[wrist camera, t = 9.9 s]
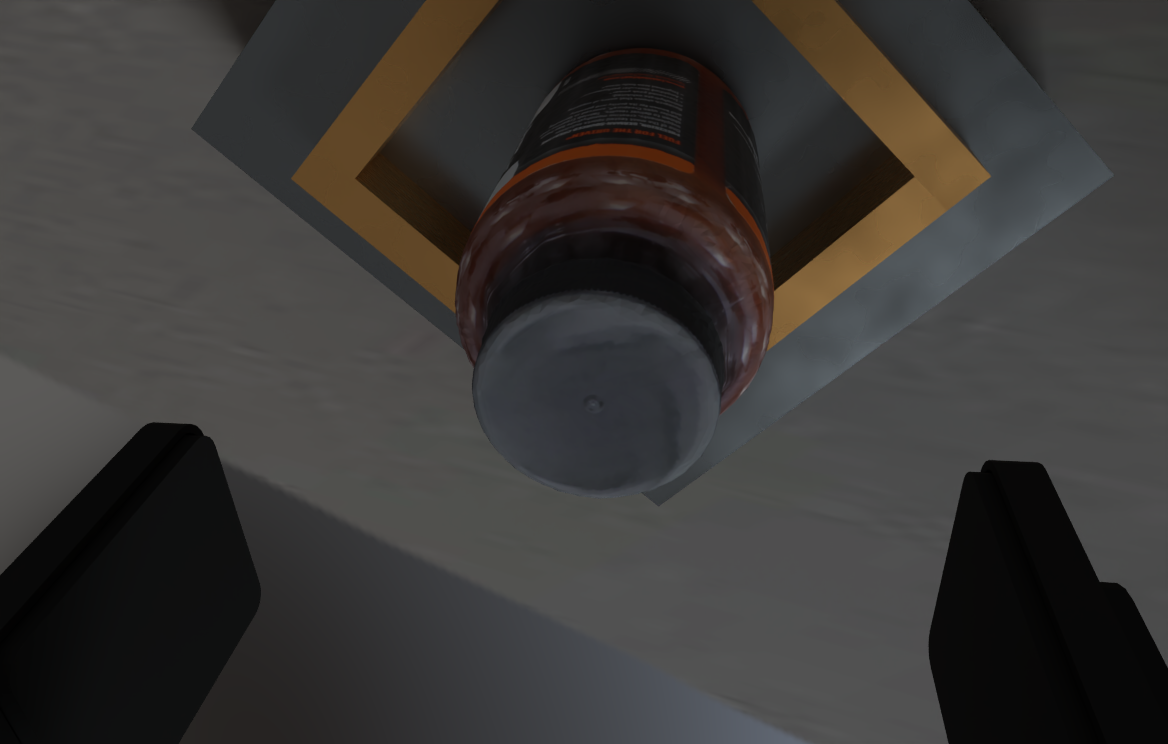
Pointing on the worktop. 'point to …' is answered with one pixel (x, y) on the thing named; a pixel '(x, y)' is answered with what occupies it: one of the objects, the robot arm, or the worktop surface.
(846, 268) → the grey orange open tray
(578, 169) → the supplement bottle
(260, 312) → the worktop surface
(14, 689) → the robot arm
